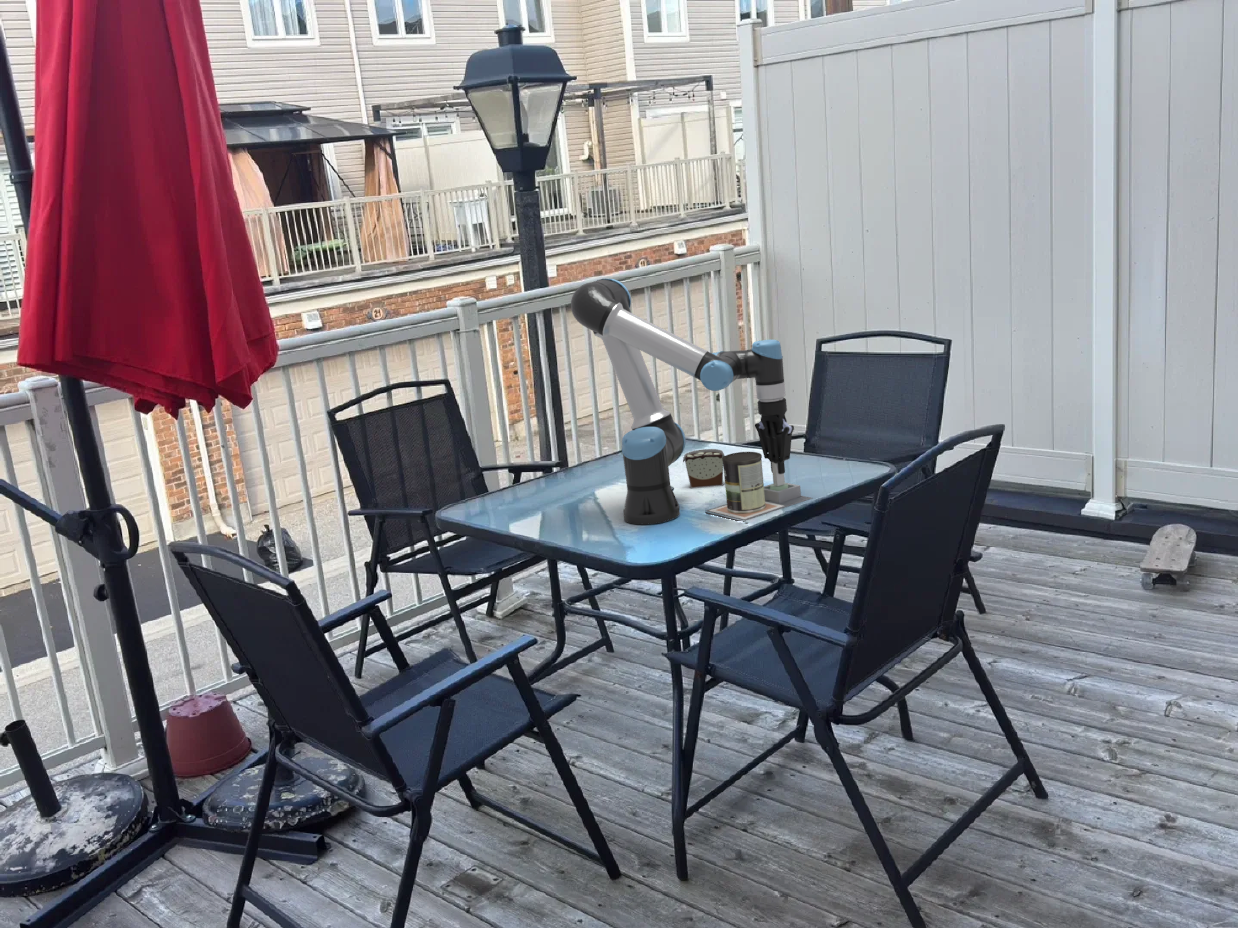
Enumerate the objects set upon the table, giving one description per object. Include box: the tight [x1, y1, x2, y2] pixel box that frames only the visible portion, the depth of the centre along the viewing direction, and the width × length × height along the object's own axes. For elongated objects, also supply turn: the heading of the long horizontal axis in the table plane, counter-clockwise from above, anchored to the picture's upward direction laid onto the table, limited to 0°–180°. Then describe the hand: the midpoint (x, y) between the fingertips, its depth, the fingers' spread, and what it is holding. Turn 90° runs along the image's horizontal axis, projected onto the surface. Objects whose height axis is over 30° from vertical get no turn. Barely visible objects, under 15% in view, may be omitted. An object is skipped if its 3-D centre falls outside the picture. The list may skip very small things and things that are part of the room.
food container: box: [682, 448, 726, 489], centre depth 318 cm, size 12×6×10 cm, turn 84°
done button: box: [769, 483, 788, 491], centre depth 292 cm, size 5×5×3 cm
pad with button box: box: [705, 482, 813, 522], centre depth 289 cm, size 24×16×4 cm, turn 125°
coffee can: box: [722, 451, 766, 514], centre depth 285 cm, size 10×10×14 cm
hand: (779, 484), depth 292 cm, fingers closed
